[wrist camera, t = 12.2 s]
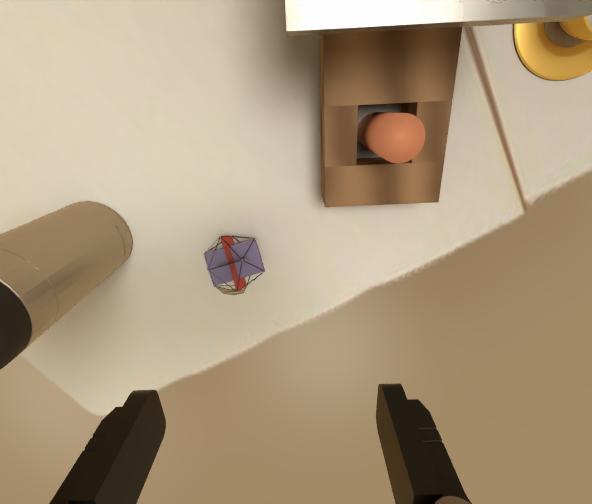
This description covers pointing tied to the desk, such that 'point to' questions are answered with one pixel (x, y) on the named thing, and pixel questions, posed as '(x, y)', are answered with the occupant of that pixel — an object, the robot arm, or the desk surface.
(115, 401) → the desk surface
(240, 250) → the geometric puzzle
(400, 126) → the peg
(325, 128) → the socket block
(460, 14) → the grey metal bench
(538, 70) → the cup
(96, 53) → the desk surface
